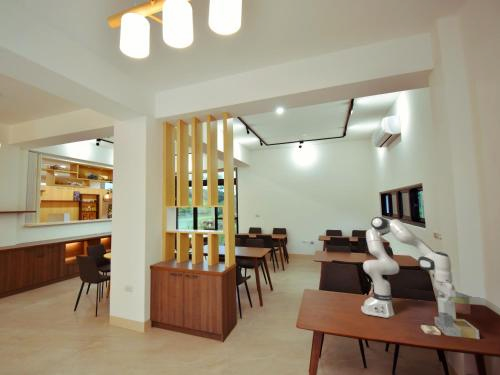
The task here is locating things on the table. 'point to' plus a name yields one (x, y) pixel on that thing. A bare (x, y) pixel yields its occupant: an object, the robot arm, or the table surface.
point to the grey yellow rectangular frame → (458, 328)
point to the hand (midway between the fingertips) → (445, 300)
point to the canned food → (462, 303)
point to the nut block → (445, 318)
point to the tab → (430, 330)
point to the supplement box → (446, 307)
